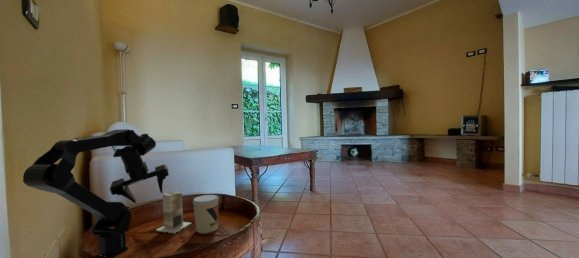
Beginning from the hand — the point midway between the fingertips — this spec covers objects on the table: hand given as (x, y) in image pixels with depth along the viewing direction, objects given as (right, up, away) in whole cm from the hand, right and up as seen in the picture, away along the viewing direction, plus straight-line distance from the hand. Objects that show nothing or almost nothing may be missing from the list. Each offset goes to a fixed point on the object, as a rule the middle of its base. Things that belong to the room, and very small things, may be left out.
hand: (149, 197), depth 96 cm
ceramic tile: (+8, -13, +3) cm, 15 cm away
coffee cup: (+22, -12, 0) cm, 25 cm away
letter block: (+8, -12, +3) cm, 15 cm away
